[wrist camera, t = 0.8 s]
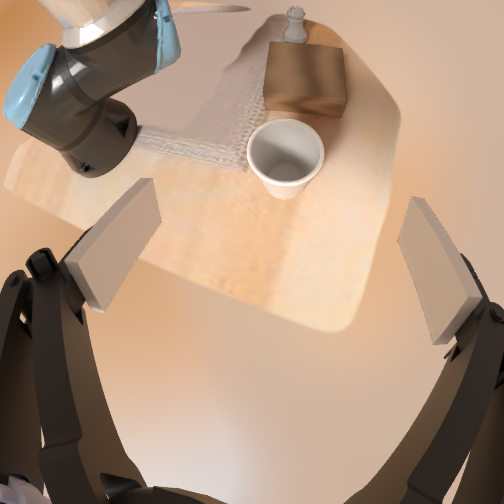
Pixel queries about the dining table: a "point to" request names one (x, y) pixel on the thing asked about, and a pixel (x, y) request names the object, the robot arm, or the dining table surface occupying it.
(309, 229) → the dining table surface
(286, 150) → the dixie cup
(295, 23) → the rook chess piece
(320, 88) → the walnut block
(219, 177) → the dining table surface
